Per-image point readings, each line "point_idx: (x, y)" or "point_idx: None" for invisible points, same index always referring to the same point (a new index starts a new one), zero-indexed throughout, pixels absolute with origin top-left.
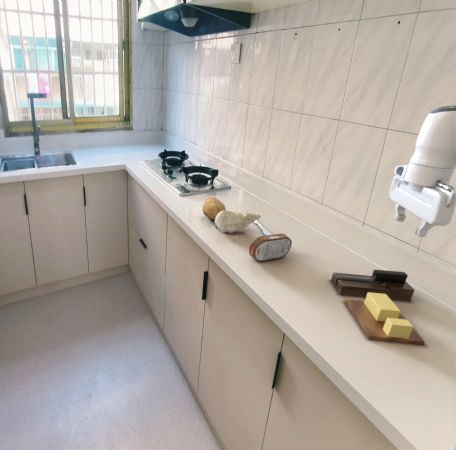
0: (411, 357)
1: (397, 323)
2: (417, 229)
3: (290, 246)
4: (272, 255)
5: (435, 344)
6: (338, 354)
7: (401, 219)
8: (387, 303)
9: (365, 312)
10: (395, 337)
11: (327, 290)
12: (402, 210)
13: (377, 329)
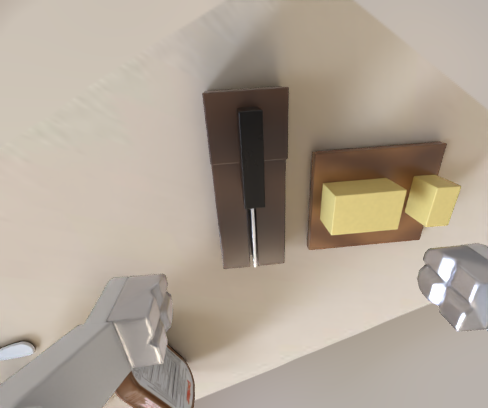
0: (464, 181)
1: (447, 215)
2: (467, 322)
3: None
4: (165, 354)
5: (440, 112)
6: None
7: (161, 304)
8: (376, 207)
9: None
10: None
11: (266, 265)
12: (71, 383)
13: (404, 220)
